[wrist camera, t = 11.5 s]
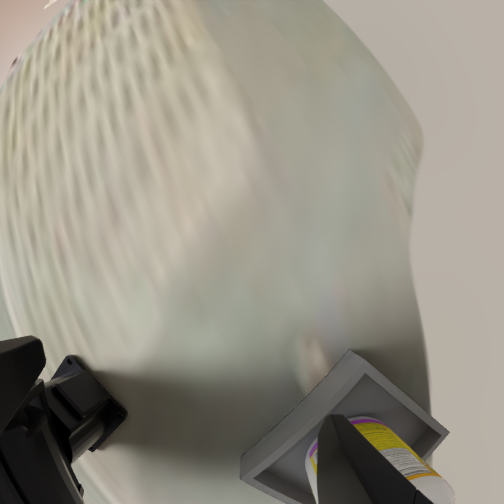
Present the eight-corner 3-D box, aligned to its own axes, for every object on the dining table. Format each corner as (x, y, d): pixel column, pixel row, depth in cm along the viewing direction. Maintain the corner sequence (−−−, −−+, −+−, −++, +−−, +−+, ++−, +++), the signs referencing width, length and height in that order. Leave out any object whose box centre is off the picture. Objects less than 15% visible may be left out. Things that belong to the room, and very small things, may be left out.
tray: (338, 507, 16) (347, 527, 13) (241, 456, 17) (239, 478, 14) (431, 419, 17) (449, 432, 14) (349, 349, 18) (365, 359, 15)
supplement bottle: (376, 475, 16) (447, 574, 3) (297, 484, 16) (329, 614, 3) (397, 407, 16) (511, 494, 4) (311, 414, 16) (380, 557, 4)
